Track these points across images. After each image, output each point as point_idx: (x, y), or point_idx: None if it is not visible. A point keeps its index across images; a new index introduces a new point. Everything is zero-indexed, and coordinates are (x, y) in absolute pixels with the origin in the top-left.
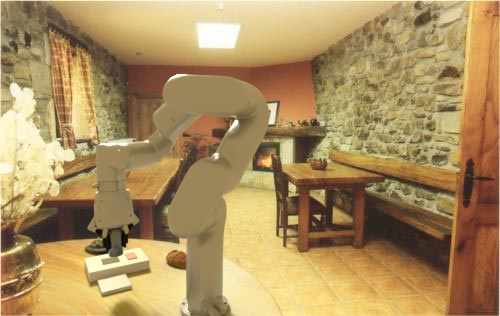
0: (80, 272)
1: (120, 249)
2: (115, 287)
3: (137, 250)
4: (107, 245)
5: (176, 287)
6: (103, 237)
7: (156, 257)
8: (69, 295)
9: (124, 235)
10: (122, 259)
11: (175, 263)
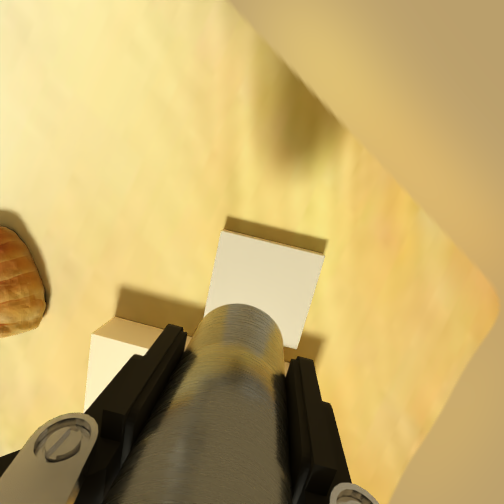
0: None
1: (217, 326)
2: (272, 256)
3: None
4: (312, 390)
5: (96, 115)
6: (363, 500)
7: (61, 374)
8: (397, 333)
9: (124, 403)
10: None
11: (21, 263)
